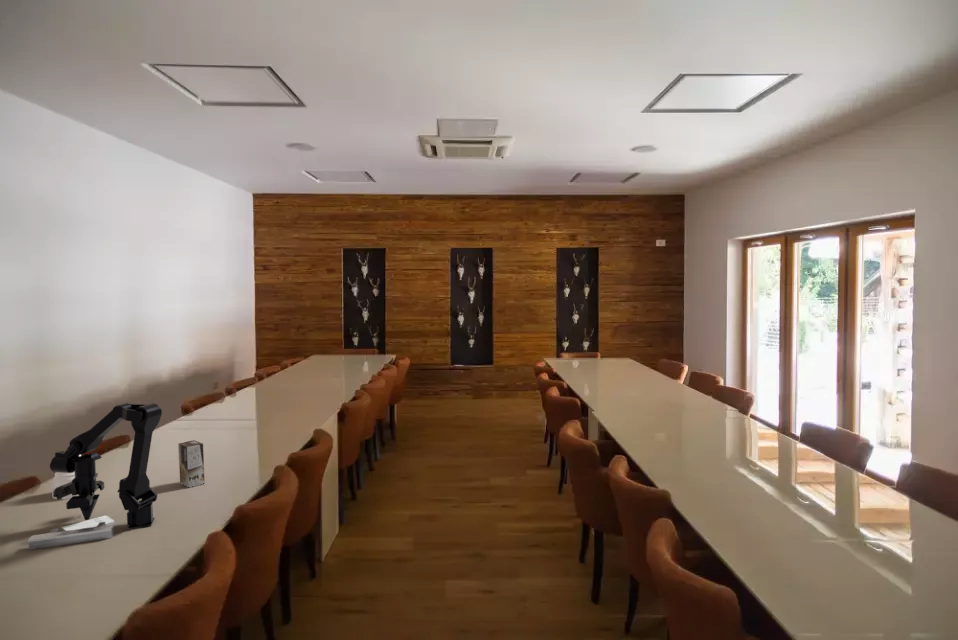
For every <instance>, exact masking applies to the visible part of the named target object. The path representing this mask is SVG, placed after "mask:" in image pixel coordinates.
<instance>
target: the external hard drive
mask: <svg viewBox="0 0 958 640" xmlns="http://www.w3.org/2000/svg"><path fill="white" fill-rule="evenodd" d="M100 522H105V525H112V524H114V525H115V520H114V519H113V518H111V517H109V516H108V515H102V516H98V517H95V518H90V519H89V520H83V521H80V522H75V523H72V524H71V523H70V524H68V525H65V526H61V532H62V531H69V530H76V529H83V528H90V527H97V526H98V524H99V523H100Z"/></svg>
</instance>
